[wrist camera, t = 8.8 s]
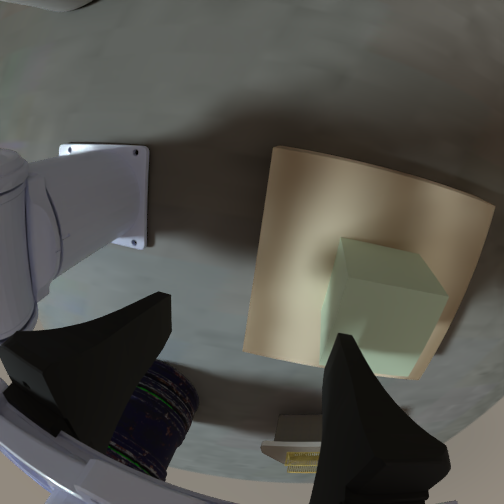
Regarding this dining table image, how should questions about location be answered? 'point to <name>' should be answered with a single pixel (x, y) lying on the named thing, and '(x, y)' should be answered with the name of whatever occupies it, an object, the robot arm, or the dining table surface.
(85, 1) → the cylinder vase
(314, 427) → the platform
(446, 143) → the dining table surface
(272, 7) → the dining table surface
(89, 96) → the dining table surface
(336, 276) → the green cube
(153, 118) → the dining table surface
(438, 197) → the birch base
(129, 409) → the storage jar
